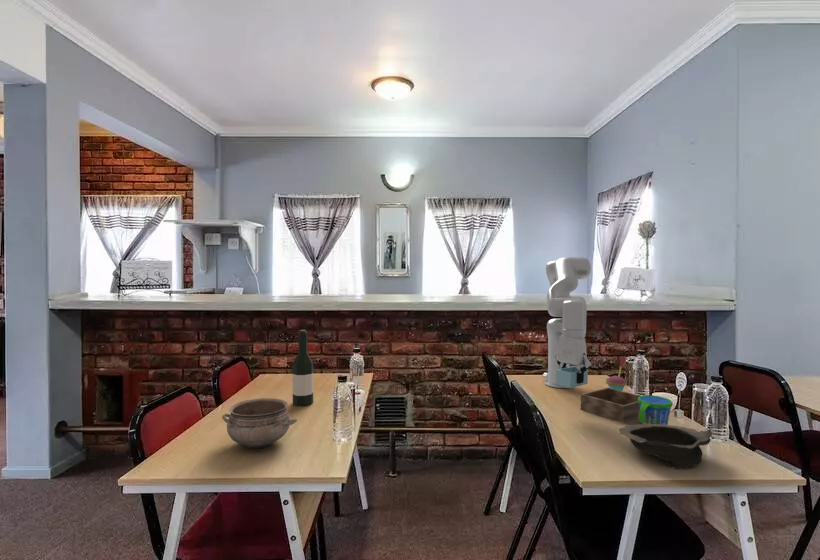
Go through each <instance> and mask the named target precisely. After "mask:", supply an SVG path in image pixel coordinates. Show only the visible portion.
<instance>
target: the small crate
mask: <svg viewBox="0 0 820 560" xmlns="http://www.w3.org/2000/svg"><path fill="white" fill-rule="evenodd" d="M588 371H589V368H588V369H587V370H586V371H585V372H584V381H583V383H580V384H577V373H578V370H577V367H576V366H575V365H570V366H569V367H566V368H561V369H557V370H556V384H558V385H561V386H564V387H568V388H567V389H572V388H577V387H580V386H585V385H588V382H589V381H588V380H589V379H588V378H589V375H588V373H589V372H588Z"/></svg>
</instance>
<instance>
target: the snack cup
mask: <svg viewBox="0 0 820 560" xmlns="http://www.w3.org/2000/svg"><path fill="white" fill-rule="evenodd" d="M639 396H640V397H638V402H639V405H640V412H639V416H638V418H637V419H638V421H639V422H640V423H641V424H663V425H669V424H668V423H669V419H670V414H671V408H672V406H673V405H674V403H673V401H672V399H669V398H667V397H662V396H659V395H639Z"/></svg>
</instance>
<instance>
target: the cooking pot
mask: <svg viewBox="0 0 820 560" xmlns="http://www.w3.org/2000/svg"><path fill="white" fill-rule="evenodd" d="M288 405H289V404H288V402H287V401H285V400H283V399H279V398H271V397H269V398H268V397H267V398H254V399H247V400H243V401H239V402H236V403H234V404H233V405H231V406H229V409H228V410H229V413H230V414H229V413H224V414H222V416H221V418H222V420H223V422H225V423H226V431H227V434H228V436H229V437H230V439H231V440H232V441H233V442H235V443H236V444H238V445H241V446H242V447H243V446H244V447H246V448H249V449H252V450H258V449H259V450H260V449H264V448H268V447H269V446H271V445H272V444H274V443H276V442H277V441H278V440H280V439H283V437H284V436H285V435H286V434H287V432H288V430H289V429H290V426H292V425H293V424H295V423H297V422H298V420H297V419H296V418H294V419H291V416H290V414H289V411H288V409H287V407H288Z"/></svg>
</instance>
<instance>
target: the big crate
mask: <svg viewBox="0 0 820 560" xmlns="http://www.w3.org/2000/svg"><path fill="white" fill-rule="evenodd" d="M640 396H641V395H638V394H634V393H631V392H626V391H624V390H623V391H619V390H615V389H611V388H609V387H605V388H602V389H597V390H594V391H590V392H585V393H581V394H580V410H582V411H584V412H588V413H591V414H594V415H597V416H601V417H604V418H607V419H610V420H614V421H617V422H621V423H627V422H630V421H633V420H635V419H638V416H639V412H640V405H639V402H638V397H640Z"/></svg>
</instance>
